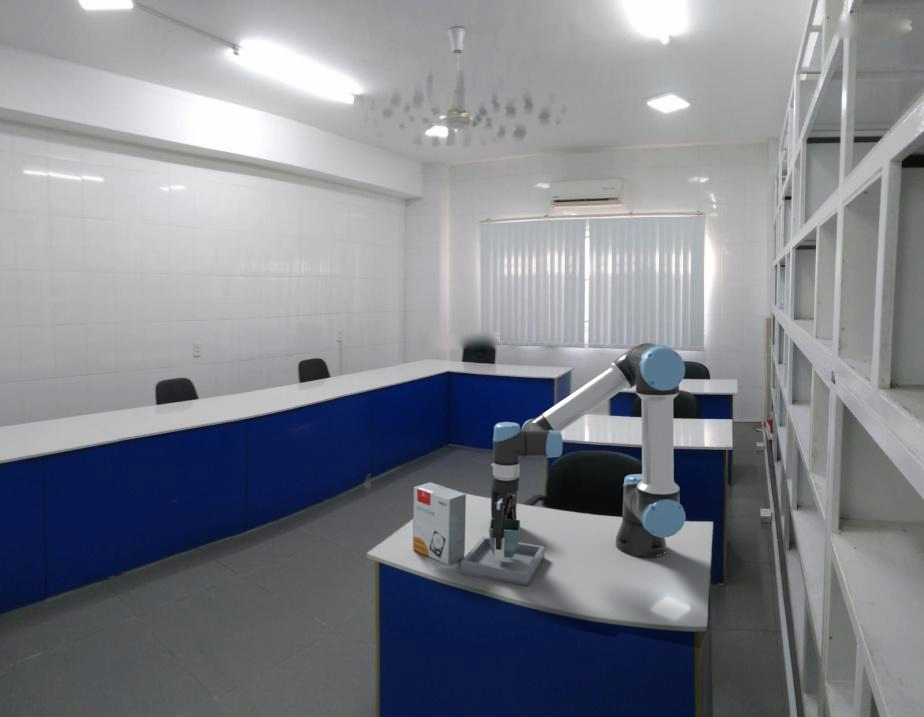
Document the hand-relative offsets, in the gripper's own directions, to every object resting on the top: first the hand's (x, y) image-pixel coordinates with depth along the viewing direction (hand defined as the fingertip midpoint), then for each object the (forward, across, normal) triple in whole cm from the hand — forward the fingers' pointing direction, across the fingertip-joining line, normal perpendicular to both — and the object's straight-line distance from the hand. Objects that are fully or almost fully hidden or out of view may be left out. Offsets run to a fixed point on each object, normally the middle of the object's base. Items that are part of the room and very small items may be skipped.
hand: (504, 552), depth 172 cm
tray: (+4, 0, 0) cm, 4 cm away
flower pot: (+1, 0, 0) cm, 1 cm away
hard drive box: (+4, 0, -21) cm, 21 cm away
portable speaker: (+4, -29, -9) cm, 31 cm away
